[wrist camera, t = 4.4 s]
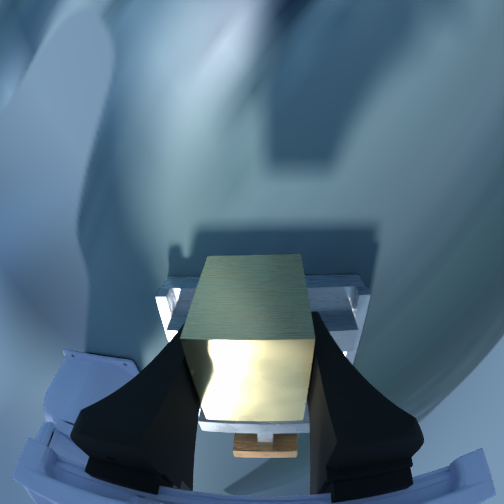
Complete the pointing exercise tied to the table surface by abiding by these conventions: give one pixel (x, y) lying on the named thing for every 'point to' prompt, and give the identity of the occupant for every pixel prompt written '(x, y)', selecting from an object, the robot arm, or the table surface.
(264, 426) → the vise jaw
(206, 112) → the table surface
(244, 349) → the brass block
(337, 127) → the table surface
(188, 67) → the table surface
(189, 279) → the vise bed
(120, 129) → the table surface
